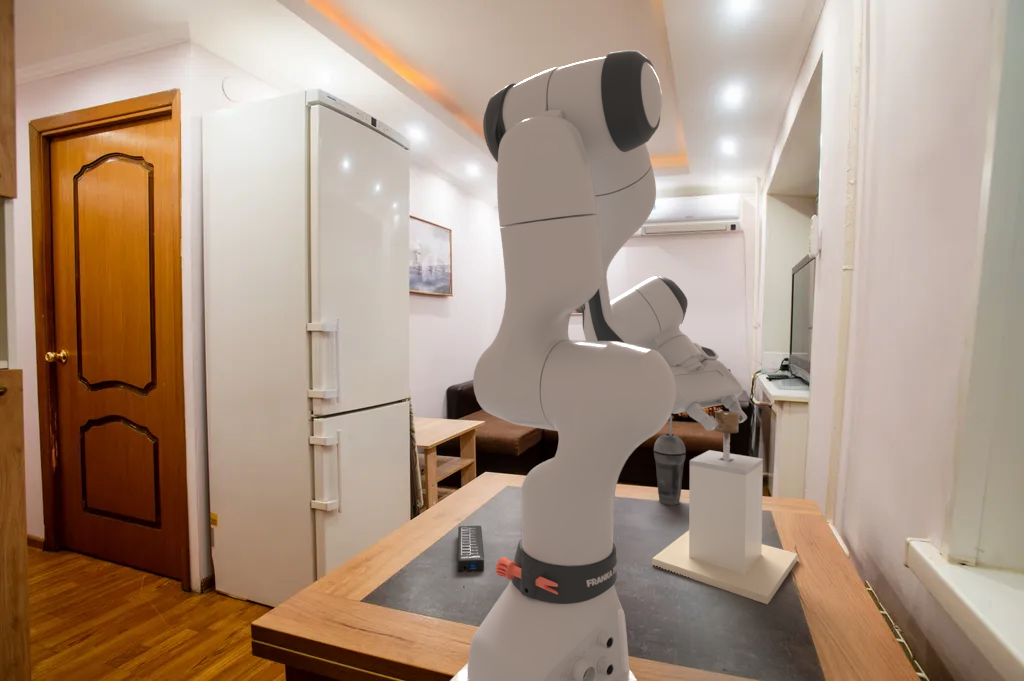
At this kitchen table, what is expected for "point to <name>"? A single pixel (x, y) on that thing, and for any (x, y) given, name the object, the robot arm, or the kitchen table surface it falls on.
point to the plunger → (726, 429)
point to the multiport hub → (470, 549)
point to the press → (727, 530)
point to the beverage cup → (669, 466)
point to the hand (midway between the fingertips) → (728, 424)
